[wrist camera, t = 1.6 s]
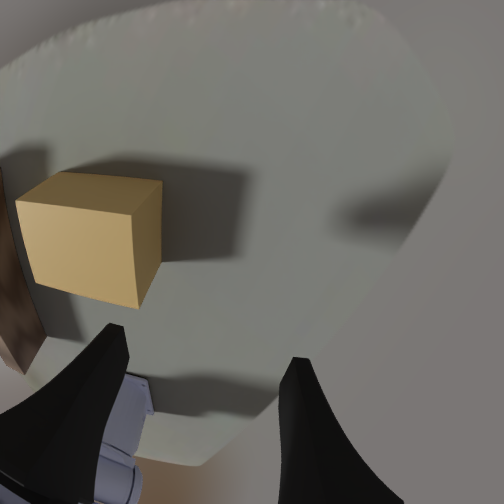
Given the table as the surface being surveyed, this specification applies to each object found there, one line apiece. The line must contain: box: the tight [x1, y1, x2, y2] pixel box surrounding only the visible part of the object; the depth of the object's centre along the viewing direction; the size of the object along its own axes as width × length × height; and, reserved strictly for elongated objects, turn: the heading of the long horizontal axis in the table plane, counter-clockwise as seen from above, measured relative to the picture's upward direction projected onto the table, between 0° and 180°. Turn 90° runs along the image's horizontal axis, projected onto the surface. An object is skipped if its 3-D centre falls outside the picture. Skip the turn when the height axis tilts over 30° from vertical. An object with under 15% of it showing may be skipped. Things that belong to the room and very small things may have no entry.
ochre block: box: [15, 172, 163, 309], centre depth 16 cm, size 6×8×5 cm
